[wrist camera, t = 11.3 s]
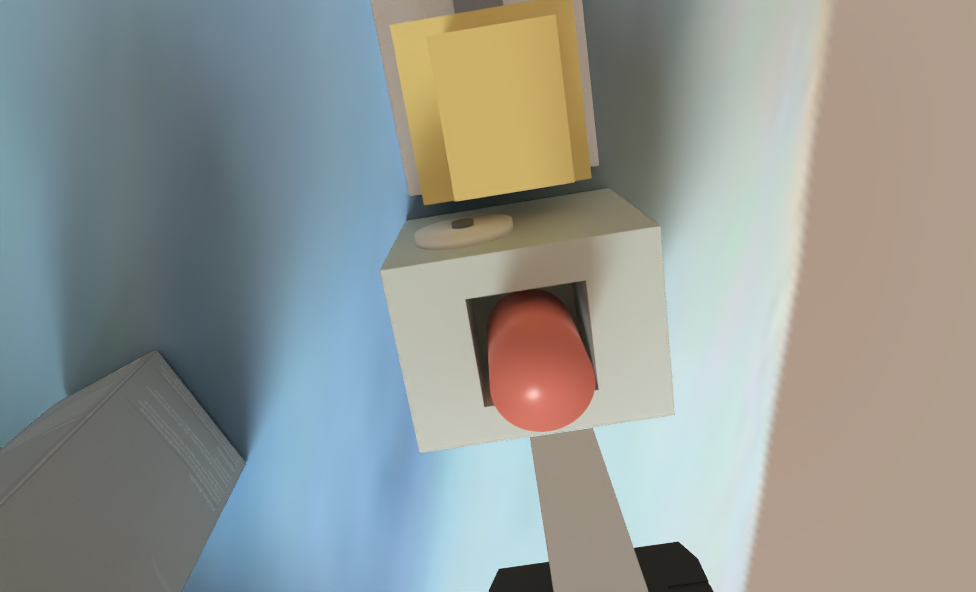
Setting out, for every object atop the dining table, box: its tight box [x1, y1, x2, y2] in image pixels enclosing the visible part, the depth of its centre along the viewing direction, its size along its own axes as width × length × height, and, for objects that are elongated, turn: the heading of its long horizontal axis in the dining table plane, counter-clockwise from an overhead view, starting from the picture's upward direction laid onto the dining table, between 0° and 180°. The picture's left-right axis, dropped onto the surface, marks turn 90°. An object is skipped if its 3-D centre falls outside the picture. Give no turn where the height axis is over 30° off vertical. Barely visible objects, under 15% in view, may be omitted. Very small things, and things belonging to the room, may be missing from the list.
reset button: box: [487, 289, 595, 432], centre depth 23 cm, size 3×3×5 cm
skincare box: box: [0, 350, 246, 592], centre depth 27 cm, size 8×7×16 cm
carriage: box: [390, 0, 592, 205], centre depth 23 cm, size 7×7×11 cm
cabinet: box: [380, 188, 675, 453], centre depth 28 cm, size 10×8×9 cm
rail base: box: [371, 0, 599, 196], centre depth 27 cm, size 9×15×3 cm, turn 9°
